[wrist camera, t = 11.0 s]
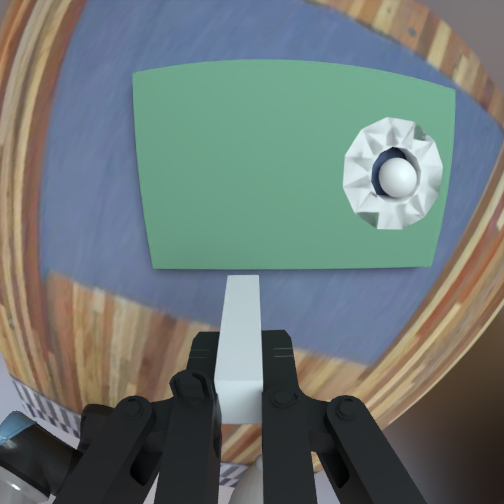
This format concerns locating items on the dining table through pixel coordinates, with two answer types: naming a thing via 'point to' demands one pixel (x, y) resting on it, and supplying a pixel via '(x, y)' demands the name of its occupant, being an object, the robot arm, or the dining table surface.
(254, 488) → the vase
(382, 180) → the ball
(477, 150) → the dining table surface
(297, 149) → the putting mat
